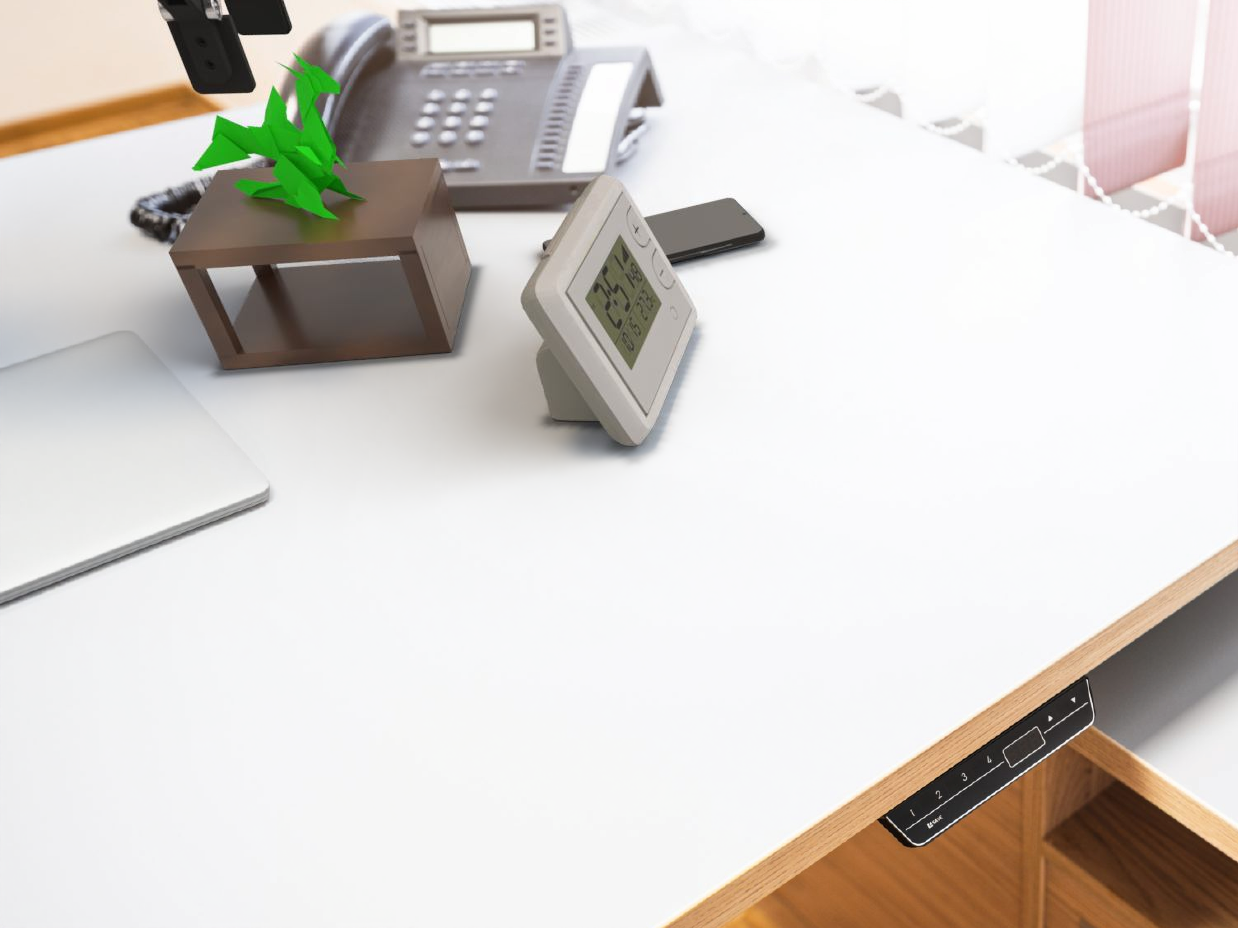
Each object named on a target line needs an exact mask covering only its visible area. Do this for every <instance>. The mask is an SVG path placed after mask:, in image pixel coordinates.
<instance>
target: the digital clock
mask: <svg viewBox="0 0 1238 928" xmlns="http://www.w3.org/2000/svg"><path fill="white" fill-rule="evenodd" d="M643 217H644V215H643V214H642V213H641V210H640V209H639V208H638V206H637V203H636V202H635V200H634V199H633V197H632V196H631V194H630V192H629V191H628V189H627V187H626V186H625V185H624V183H623V182H622V181H621V180H619V179H617V178H616V177H613V176H611V175H608V174H604V173H603V174H601V175H599V176H596V177H594V178H593V179H592V180H591V181H590V182H589V183H588V184H587V186H586V187H585V188H584V190H583V191H582V193H581V194H580V196H578V197H577V198H576V199H575V200H574V203H573V204H572V206H571V208H569V211H568V212H567V213H566V215H565V217H564V219H563V221H562V222H561V224H560V225H559V227H558V228H557V230H556V231H555V233H554V235H553V236H552V238H551V239H552V240H551V242H550V243H549V245H548V247H547V248H546V250H545V251H544V250H543V253H542V255H541V256H540V261H539V262H538V264H537V266H536V268H535V269H534V270H533V273H532V274H531V276H530V277H529V279H528V281H527V282H526V284H525V286H524V287H523V290H522V292H521V294H520V304H521V307H522V310H523V311H524V313H525V315H526V316H527V319H529V321H530V322H531V324H532V325H533V327H534V328H535V329H536V331H537V333H538V335H540V337H541V339H542V340H543V342H542V343H541V345H540V347H539V349H538V350H537V353H536V356H535V364H536V369H537V374H538V377H539V380H540V383H541V387H542V390H543V393H544V397H545V401H546V404H547V407H548V410H549V414H550V417H551V419H553V420H556V421H568V422H569V421H570V422H572V421H573V422H575V421H576V422H599V423H600V424H601V426H602V427H603V428H604V430H605V431H606V433H607V434H608V435H609V436H610V437H611V439H612V440H614V441H616V442H617V443H619V444H621V445H622V446H626V447H633V446H638V445H641V444H642V443H643V442H644V441H645V439H646V438H647V437H648V436H649V434H650V432H651V430H652V429H653V428H654V426H655V424H656V423H657V419H658V417H659V416H660V413H661V411H662V408H663V406H664V403H665V400H666V397H667V396H668V393H669V391H670V388H671V386H672V383H673V381H674V378H675V376H676V373H677V371H678V368H679V366H680V363H681V361H682V359H683V356H684V353H685V351H686V348H687V346H688V344H689V341H690V339H691V337H692V334H693V331H694V329H695V326H696V323H697V319H698V311H697V308H696V306H695V304H694V302H693V300H692V298H691V297H690V295H689V293H688V290H687V289H686V287H685V286H684V284H683V283H682V281H681V279H680V278H679V276H678V274H677V273H676V271H675V269H674V268H673V265H672V263H670V262H669V260H668V259H667V257H666V255H665V254H664V252H663V250H662V248H661V247H660V245H659V243H658V242H657V240H656V238H655V236H654V235H653V233H652V231H651V230H650V228H649V226H648V225H647V223H646V221H645V219H644V218H643Z"/></svg>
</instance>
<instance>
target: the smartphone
mask: <svg viewBox="0 0 1238 928" xmlns="http://www.w3.org/2000/svg"><path fill="white" fill-rule="evenodd" d="M643 218H644V219H645V221H646V223H647V225H648V226H649V228H650V230H651V231H652V233H653V235H654V236H655V238H656V240H657V242H658V243H659V245H660V247H661V248H662V250H663V252H664V254H665V255H666V257H667V259H668V260H669V262H670V264H672V263H675V262H680V261H684V260H688V259H692V258H696V257H700V256H704V257H705V256H709V255H712V254H716V253H719V252H724V251H728V250H731V249H736V248H739V247H744V246H747V245H751V244H756V243H760V242H762V241H763V240H765V238H766V230H765V229H764V227H762V225H761V224H760V223H759V222H758V221H757V220H756V219H755V218H754V217H753V216H752V215H751V214H750V213H749V211H747V210H746V209H745V208H744V207H743V206H742V205H741V204H740V202H738V201H737V200H736V199H735V198H733V197H725V198H721V199H720V198H719V199H716V200H712V201H708V202H707V201H706V202H703V203H699V204H694V205H690V206H687V207H682V208H678V209H677V208H676V209H674V210H670V211H665V212H661V213H656V214H652V215H648V216H643ZM551 240H552V238H550V239H546V240H544V241H543V242H542V250H543V252H544V251H545V250H546V248H547V247H548V245H549V243H550V242H551Z"/></svg>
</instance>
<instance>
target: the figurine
mask: <svg viewBox="0 0 1238 928" xmlns="http://www.w3.org/2000/svg"><path fill="white" fill-rule="evenodd" d="M292 54H293V56H294V57H295V59H296V62H298V64H299V65H300V66H301V67H302V68H303V69H304V70H303V69H301V71H302V73H301V72H299V71H297V70H294V69H292V68H291V67H288V66H286V65H284V64H282V63H280V62H278V61H276V60H275V61H274V62H275V63H276V64H279V65H280V66H282V67H283V68H284V69H286V70H288V71H289V72H290V73H291V74H292V75H293V76H294V77H296V79H297V80H295V81H294V80H293V81H294V82H293V83H294V87H295V93H296V97H297V102H298V106H299V107H298V109H299V112H300V118H301V123H302V125H303V128H302V130H300V129H299V128H298V127H296V125H294V124H293V123H292V121H290V120H289V119H288V114H287V111H288V106H287V104H286V103H285V101H284V99H283V98H282V97H281V95H280V93H279V92H278V90H277V89H276V87H275V85H272V86H271V90H270V94H269V97H268V100H267V104H266V108H265V110H264V111H265V112H264V120H263V122H262V124H261V126H255V125H254V126H253V125H246V126H244V125H241V124H239V123H236V122H234V121H232V120H230V119H227V118H226V117H223V116H220V115H218V114H216V117H215V121H214V127H213V131H212V132H213V133H212V137H211V141H212V142H210V144H209V146H208V147H207V148H206V149H205V151H204V152H203V153H202V154H201V156H200V157H199V159H198V160H197V161H196V163H195V164H194V165H193V166H192V167H191V169H192V170H193V171H194V172H203V170H206V169H210V168H215V167H220V166H223V165H227V164H232V163H235V162H240V161H245V160H249V159H252V156H251V155H258V156H262V157H265V158H267V159H272V160H274V161H275V162H276V163H275V165H274V166H273V167H274V169H273V172H272V173H273V175H274V176H275V177H276V179H277V180H278V181H279V182H271V183H263V182H258V181H252V180H247V179H241V180H240V181H238V182H237V183H235V184H233V185H234V186H235V187H237V188H238V189H240V190H241V191H243V192H244V193H246V194H247V195H249V196H252V197H266V198H280V199H286V201H285V202H284V203H287V204H289V205H292V206H294V207H297V208H299V209H300V208H301V207H302V208H304V209H306V210H308V211H310V212H312V213H315V214H317V215H319V216H321V217H323V218H331V219H338V218H337V217H336V216H334V215H333V214H332V213H330V212H329V211H328V210H326V209H325V208H324V207H323V204H322V201H321V198H320V194H321V193H322V192H323V191H324V190H325V189H329V190H331V191H334V192H337V193H339V194H342V195H345V196H347V197H350V198H354V199H362V200H366V199H364V198H361V197H359V196H357V195H354V194H352V193H349V192H347V190H346V188H345V186H344V185H343V183H342V181H341V179H340V178H339V177H338V176H336V175H335V174H333V173H332V172H331V170H332V167H333V164H335V161H337V163H340V164H341V165H342V166H344V164H343V163H344V162H342V161H341V159H340V158H339V156H338V155H337V147H336V145H335V143H334V141H333V138H332V137H331V135H330V133H329V130H328V128H327V127H326V125H325V123H324V120H323V118H322V116H321V114H320V112H319V110H318V108H317V106H316V104H315V103H316V101H317V99H318V98H319V96H320V94H321V93H323V94H326V93H329V94H337V95H340V94H341V84H340V83H339V82H337V81H336V80H335V79H333V77H331V76H330V75H329V74H327V73H326V72H325V71H324V70H323V69H322V68H320V67H319V66H318V65H314V64H313V63H312V65H310V64H309V63H307V61H305V60H304V59H302V58H301V57H300V56H299V55H297V54H296V53H295V52H292ZM344 167H345V166H344ZM345 168H346V167H345ZM346 169H347V168H346ZM339 220H340V219H339Z"/></svg>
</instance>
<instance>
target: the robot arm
mask: <svg viewBox="0 0 1238 928" xmlns="http://www.w3.org/2000/svg"><path fill="white" fill-rule="evenodd" d="M156 1H157V5H158V7H157V8H158V11H159V13H160V16H161V17H162V19H163V20H164V21H165V22H166V24H167V27H168V29H169V32H170V34H171V37H172V40H173V42H174V44H175V47H176V50H177V52H178V55H179V57H180V60H181V62H182V64H183V67H184V70H185V72H186V75H187V78H188V79H189V83H190V84H191V88H192V89H193V91H195V93H197V94H198V95H232V94H251V93H253V92H254V90H255V89H256V88H257V82H256V80H255V77H254V74H253V71H252V68H251V65H250V63H249V60H248V57H247V55H246V52H245V48H244V47H243V44H242V41H241V38H240V36H281V35H282V36H283V35H284V36H286V35H290V33H291V31H292V30H293V24H292V21H291V18H290V15H289V12H288V10H287V6H286V3H285V0H223V2H224V4H225V7H226V10H227V13H228V14H223V7H222V0H156Z"/></svg>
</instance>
